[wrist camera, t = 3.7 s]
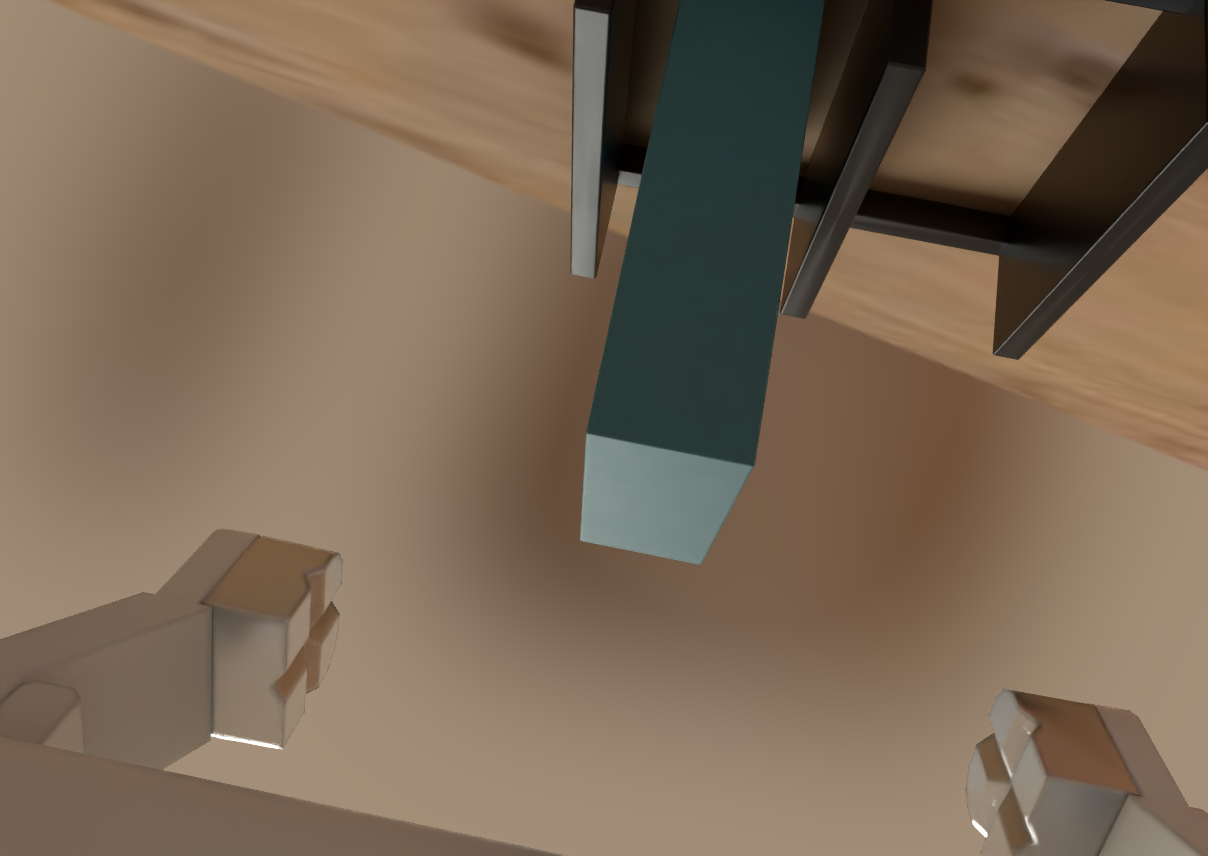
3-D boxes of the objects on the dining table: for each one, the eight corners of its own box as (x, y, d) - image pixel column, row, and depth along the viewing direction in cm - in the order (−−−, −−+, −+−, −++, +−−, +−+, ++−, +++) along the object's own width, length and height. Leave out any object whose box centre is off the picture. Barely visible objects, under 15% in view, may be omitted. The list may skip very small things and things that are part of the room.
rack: (1242, -41, 27) (1248, 128, 26) (1025, 234, 40) (1018, 360, 38) (613, -151, 28) (573, 5, 26) (598, 154, 41) (570, 274, 39)
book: (834, -54, 30) (755, 466, 24) (768, 158, 39) (700, 566, 33) (696, -78, 30) (585, 433, 24) (664, 139, 39) (579, 542, 34)
